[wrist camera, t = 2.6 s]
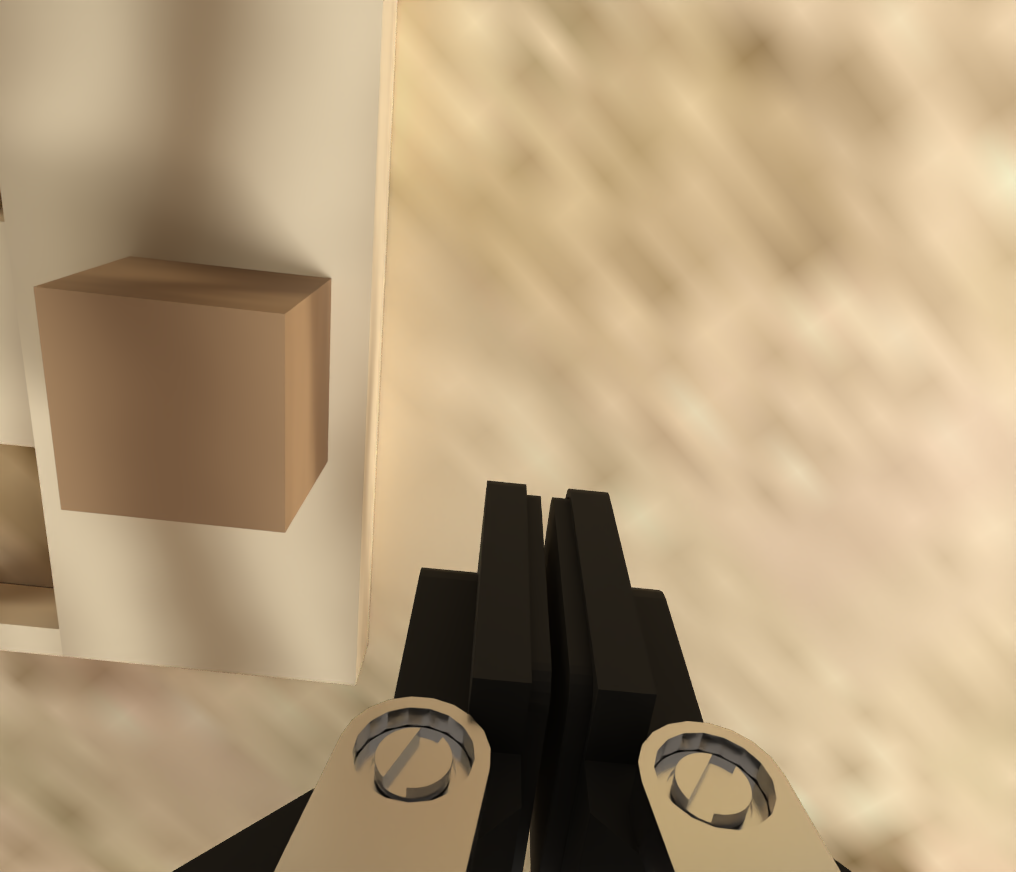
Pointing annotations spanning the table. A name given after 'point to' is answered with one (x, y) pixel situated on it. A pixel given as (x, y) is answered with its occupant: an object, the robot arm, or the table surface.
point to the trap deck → (211, 241)
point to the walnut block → (187, 390)
